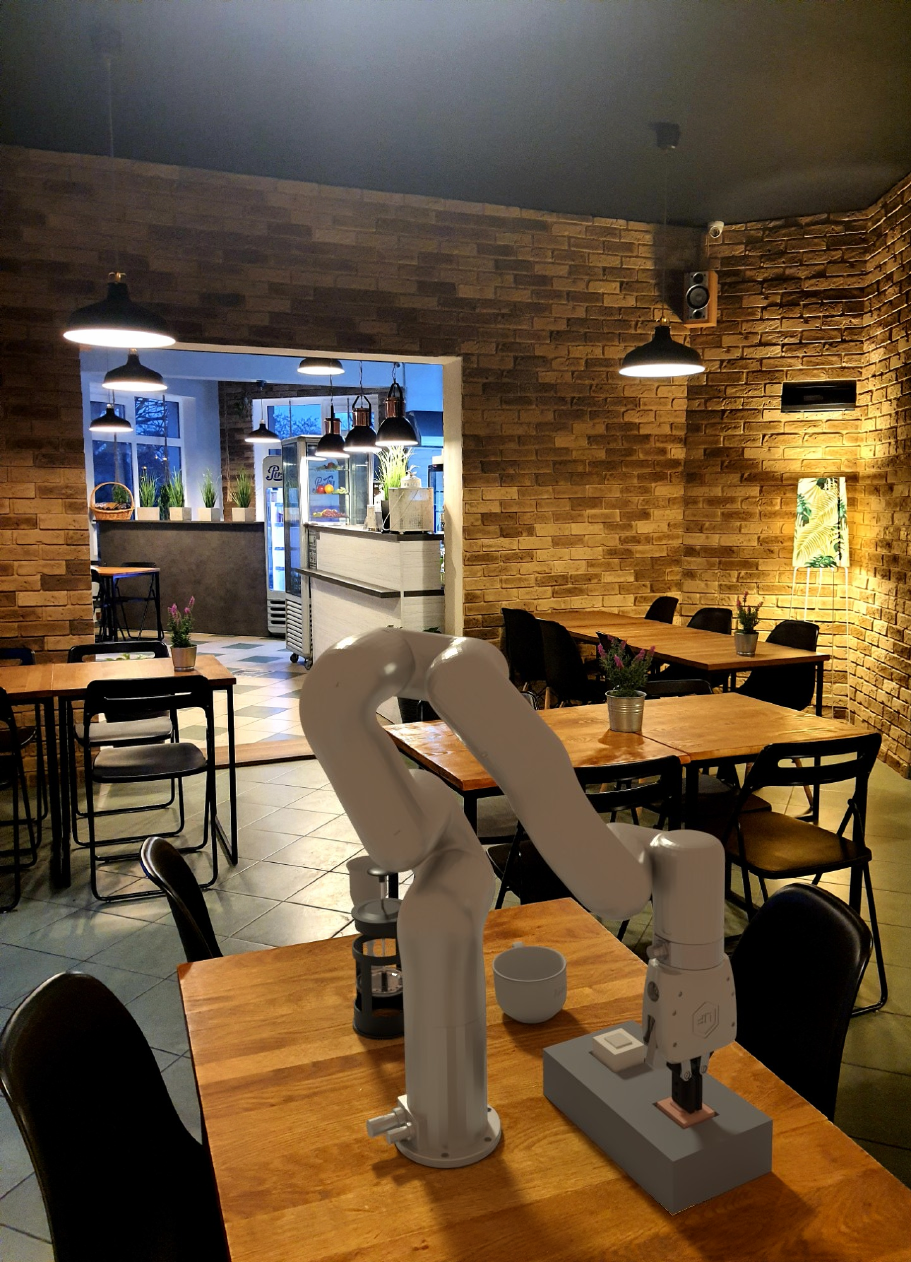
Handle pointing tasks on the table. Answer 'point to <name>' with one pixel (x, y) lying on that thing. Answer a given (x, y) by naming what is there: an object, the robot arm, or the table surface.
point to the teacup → (530, 982)
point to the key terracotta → (684, 1113)
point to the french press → (382, 982)
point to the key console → (658, 1124)
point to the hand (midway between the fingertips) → (686, 1104)
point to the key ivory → (618, 1050)
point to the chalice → (364, 888)
